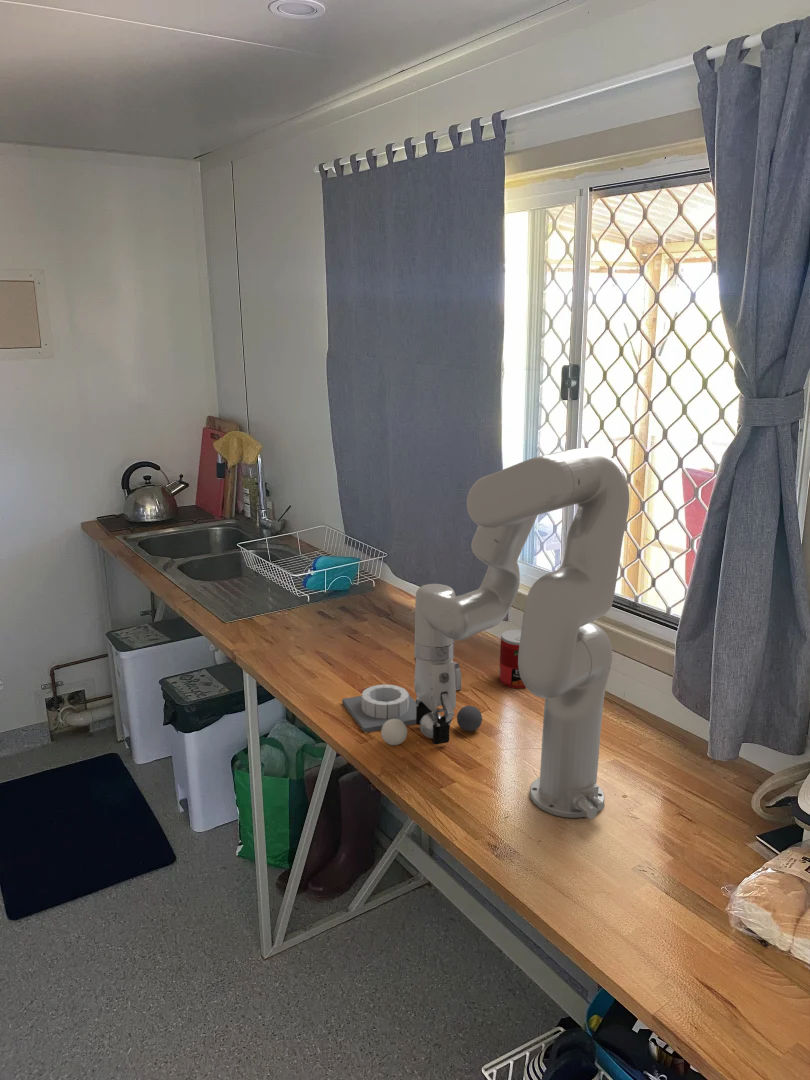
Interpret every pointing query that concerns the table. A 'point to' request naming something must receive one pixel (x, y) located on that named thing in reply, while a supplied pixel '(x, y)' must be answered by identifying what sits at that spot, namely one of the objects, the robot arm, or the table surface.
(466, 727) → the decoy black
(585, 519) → the robot arm
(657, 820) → the table surface
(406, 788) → the table surface
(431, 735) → the steel ball
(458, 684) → the caliper
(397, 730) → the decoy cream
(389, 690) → the housing
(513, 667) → the canned food
